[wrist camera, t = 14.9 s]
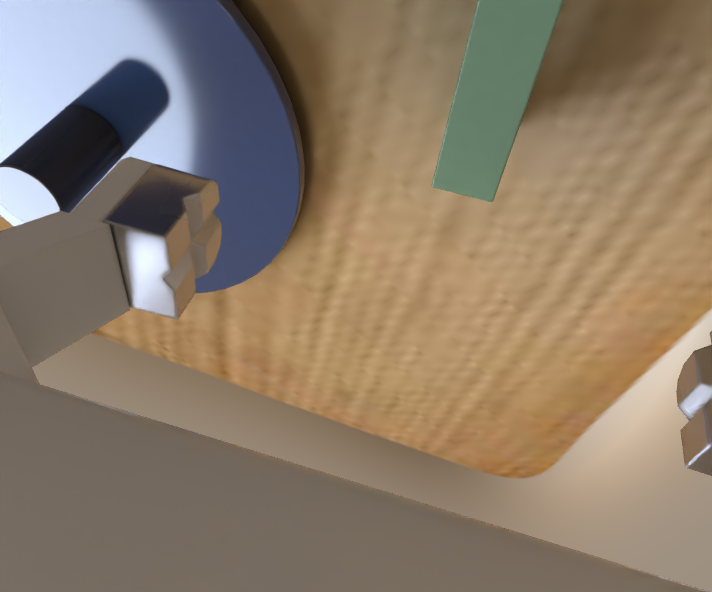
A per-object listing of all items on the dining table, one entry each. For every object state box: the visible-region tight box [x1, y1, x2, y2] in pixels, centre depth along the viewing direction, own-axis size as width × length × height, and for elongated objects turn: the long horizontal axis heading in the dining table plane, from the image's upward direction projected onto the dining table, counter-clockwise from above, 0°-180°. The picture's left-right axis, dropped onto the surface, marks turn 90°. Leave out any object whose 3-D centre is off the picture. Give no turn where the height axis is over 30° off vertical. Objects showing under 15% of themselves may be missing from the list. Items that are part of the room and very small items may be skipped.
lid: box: [0, 0, 305, 293], centre depth 22 cm, size 17×17×5 cm
